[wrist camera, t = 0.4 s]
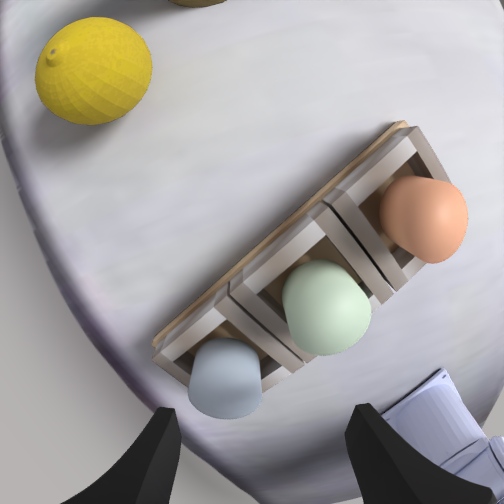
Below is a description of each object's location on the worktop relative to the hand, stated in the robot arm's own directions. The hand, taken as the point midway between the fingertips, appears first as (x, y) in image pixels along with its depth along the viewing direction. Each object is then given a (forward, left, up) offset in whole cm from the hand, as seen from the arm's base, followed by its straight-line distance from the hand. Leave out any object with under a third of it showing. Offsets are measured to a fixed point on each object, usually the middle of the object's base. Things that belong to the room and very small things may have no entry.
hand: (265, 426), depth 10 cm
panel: (0, -4, -10) cm, 10 cm away
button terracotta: (0, -11, -7) cm, 13 cm away
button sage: (0, -4, -7) cm, 8 cm away
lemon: (+16, -4, -10) cm, 19 cm away
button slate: (0, +3, -7) cm, 7 cm away
